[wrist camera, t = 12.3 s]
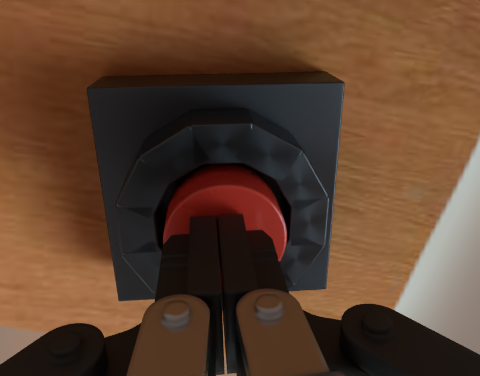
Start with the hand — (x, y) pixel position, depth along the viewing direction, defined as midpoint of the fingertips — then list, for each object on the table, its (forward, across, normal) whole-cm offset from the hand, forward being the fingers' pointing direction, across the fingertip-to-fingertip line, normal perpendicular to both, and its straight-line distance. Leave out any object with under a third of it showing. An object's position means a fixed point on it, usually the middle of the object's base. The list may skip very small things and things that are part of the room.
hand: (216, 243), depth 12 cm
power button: (+2, 0, 0) cm, 2 cm away
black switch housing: (+5, 0, 0) cm, 5 cm away
